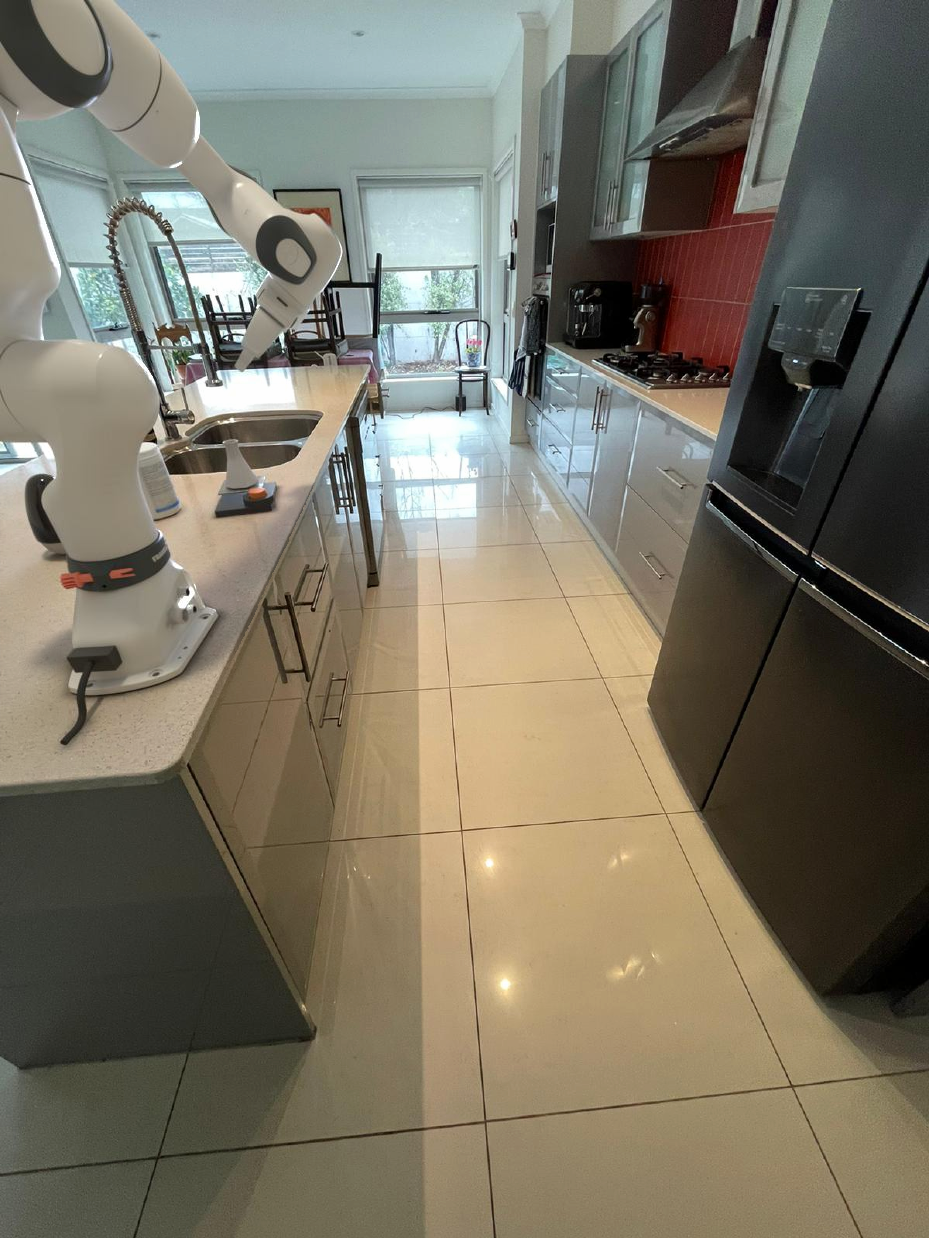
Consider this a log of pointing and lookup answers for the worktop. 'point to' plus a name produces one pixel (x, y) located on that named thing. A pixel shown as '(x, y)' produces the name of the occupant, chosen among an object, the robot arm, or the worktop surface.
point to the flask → (237, 467)
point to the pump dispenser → (41, 513)
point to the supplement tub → (156, 482)
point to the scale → (246, 502)
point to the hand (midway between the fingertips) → (241, 365)
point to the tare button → (257, 493)
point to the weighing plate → (228, 490)
